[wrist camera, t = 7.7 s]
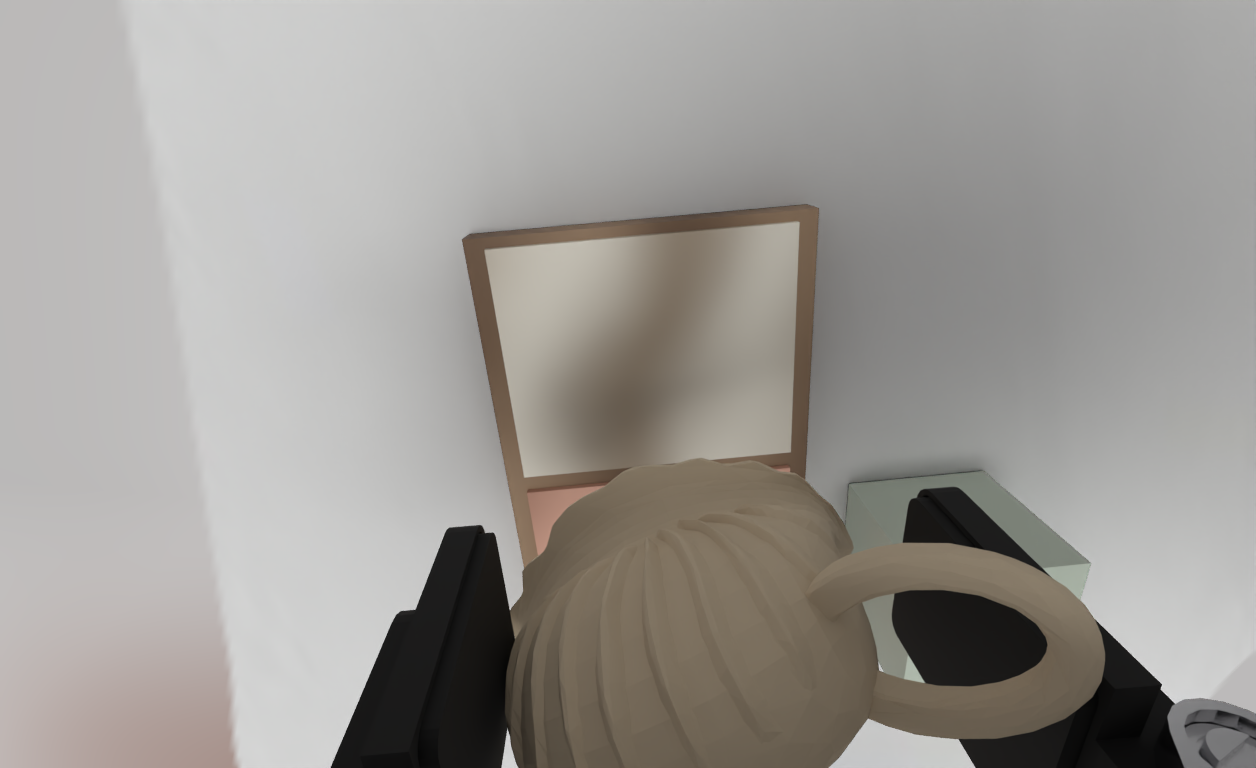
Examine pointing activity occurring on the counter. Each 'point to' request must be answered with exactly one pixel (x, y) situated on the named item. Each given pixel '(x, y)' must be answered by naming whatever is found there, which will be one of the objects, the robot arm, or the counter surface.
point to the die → (882, 522)
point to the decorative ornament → (752, 630)
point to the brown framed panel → (644, 348)
